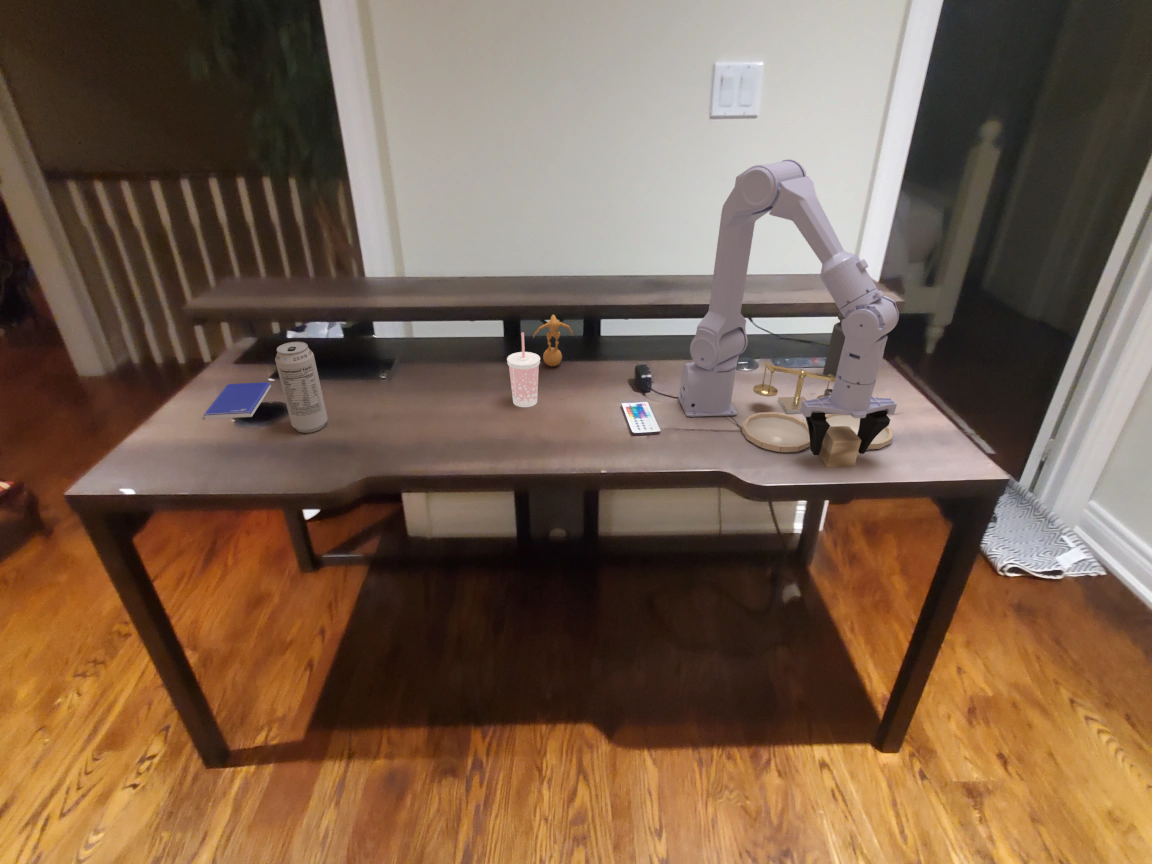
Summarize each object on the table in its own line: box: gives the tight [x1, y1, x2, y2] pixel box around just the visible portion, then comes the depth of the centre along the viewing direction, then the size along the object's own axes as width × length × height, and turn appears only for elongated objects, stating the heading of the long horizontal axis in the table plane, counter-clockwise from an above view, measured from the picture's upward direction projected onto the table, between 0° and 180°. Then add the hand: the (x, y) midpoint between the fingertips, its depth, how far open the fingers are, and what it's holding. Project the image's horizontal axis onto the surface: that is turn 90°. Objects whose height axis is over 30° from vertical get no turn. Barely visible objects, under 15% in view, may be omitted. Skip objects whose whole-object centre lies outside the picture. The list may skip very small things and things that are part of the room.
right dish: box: [825, 414, 894, 451], centre depth 112 cm, size 12×12×1 cm
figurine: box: [532, 314, 574, 367], centre depth 132 cm, size 8×6×12 cm
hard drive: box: [203, 381, 272, 420], centre depth 121 cm, size 2×8×12 cm
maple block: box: [818, 426, 861, 468], centre depth 104 cm, size 4×4×5 cm
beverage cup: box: [506, 332, 541, 408], centre depth 118 cm, size 6×6×14 cm
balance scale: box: [752, 361, 835, 415], centre depth 119 cm, size 17×5×9 cm, turn 94°
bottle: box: [823, 311, 845, 378], centre depth 129 cm, size 6×6×15 cm
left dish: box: [741, 411, 810, 453], centre depth 111 cm, size 12×12×1 cm
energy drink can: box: [274, 341, 328, 434], centre depth 109 cm, size 6×6×15 cm
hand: (836, 451), depth 105 cm, fingers open, 7 cm apart
